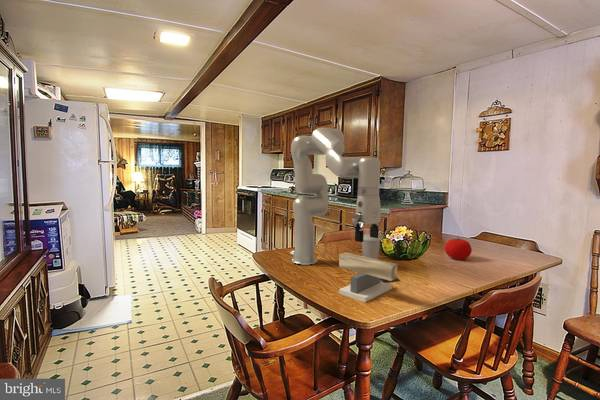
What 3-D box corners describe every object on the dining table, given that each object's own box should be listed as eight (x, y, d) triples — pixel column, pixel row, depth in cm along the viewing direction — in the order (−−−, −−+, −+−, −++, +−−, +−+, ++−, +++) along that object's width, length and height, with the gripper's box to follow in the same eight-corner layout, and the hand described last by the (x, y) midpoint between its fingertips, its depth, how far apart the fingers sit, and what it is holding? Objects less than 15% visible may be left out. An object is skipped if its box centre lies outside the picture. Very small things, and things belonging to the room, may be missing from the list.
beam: (391, 280, 107) (391, 266, 107) (339, 267, 122) (339, 254, 122) (396, 278, 110) (397, 264, 109) (345, 264, 125) (345, 252, 125)
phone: (379, 268, 142) (399, 279, 128) (379, 270, 142) (399, 281, 128) (363, 270, 140) (382, 281, 125) (363, 272, 140) (382, 283, 125)
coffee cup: (381, 269, 142) (382, 236, 141) (359, 268, 144) (360, 235, 143) (380, 263, 152) (381, 232, 150) (359, 262, 153) (360, 231, 152)
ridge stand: (339, 293, 114) (339, 274, 114) (366, 281, 127) (367, 264, 126) (365, 302, 107) (365, 282, 106) (391, 288, 119) (392, 270, 119)
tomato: (475, 260, 158) (477, 239, 158) (457, 262, 154) (458, 241, 153) (457, 255, 169) (458, 235, 168) (439, 257, 164) (440, 237, 163)
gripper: (363, 194, 105) (361, 245, 107) (390, 192, 117) (388, 237, 119) (345, 192, 110) (343, 241, 112) (372, 190, 122) (370, 234, 124)
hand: (366, 239), depth 115 cm, fingers open, 9 cm apart
